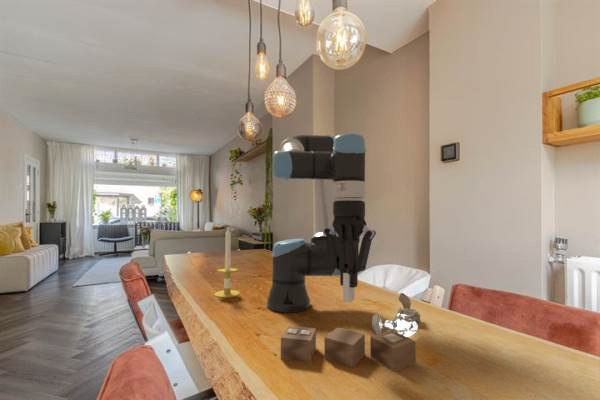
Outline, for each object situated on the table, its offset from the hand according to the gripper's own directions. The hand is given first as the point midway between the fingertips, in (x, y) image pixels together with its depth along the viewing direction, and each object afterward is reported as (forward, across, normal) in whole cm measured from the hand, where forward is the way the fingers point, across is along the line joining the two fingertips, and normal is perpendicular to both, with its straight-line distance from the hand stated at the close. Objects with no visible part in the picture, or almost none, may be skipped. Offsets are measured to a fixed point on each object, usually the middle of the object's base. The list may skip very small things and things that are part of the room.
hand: (348, 300), depth 71 cm
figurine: (+13, +3, +19) cm, 23 cm away
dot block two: (+13, -10, -6) cm, 18 cm away
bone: (+13, +3, +30) cm, 33 cm away
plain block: (+13, -1, -1) cm, 13 cm away
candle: (+13, -63, +13) cm, 66 cm away
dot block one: (+13, +8, +5) cm, 16 cm away
